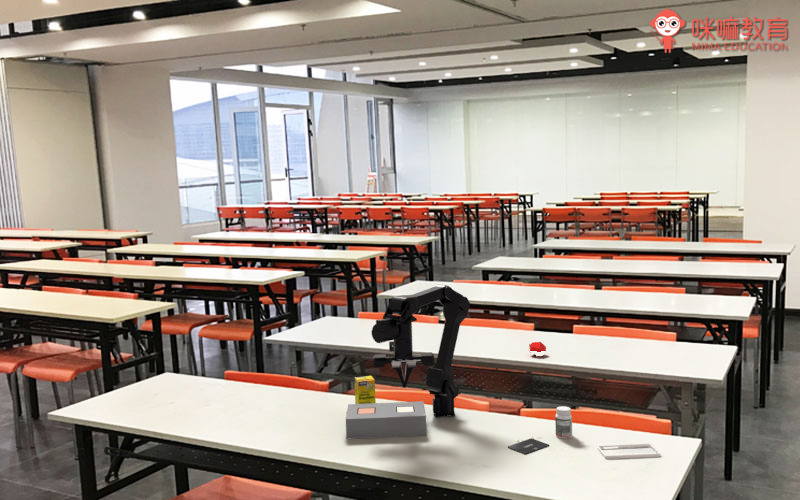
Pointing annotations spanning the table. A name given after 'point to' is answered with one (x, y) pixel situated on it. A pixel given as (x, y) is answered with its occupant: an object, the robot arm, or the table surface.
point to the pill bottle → (563, 422)
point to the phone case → (628, 454)
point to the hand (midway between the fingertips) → (404, 387)
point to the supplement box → (364, 390)
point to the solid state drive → (528, 446)
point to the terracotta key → (366, 410)
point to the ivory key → (405, 409)
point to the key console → (386, 420)
